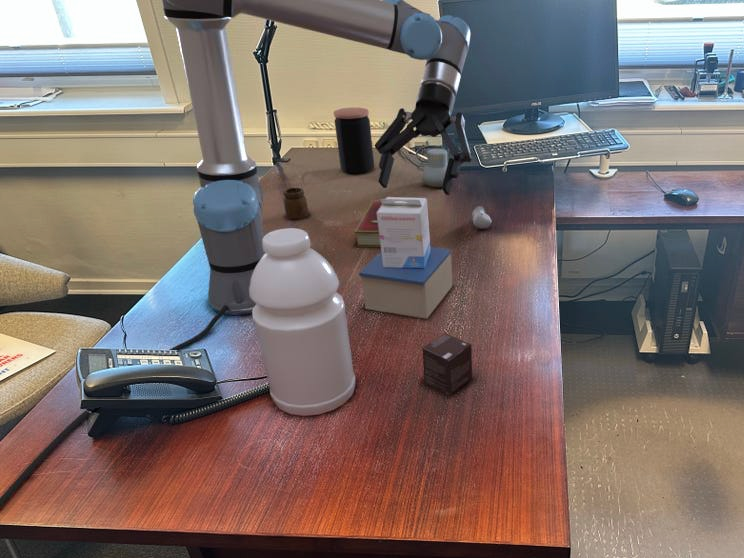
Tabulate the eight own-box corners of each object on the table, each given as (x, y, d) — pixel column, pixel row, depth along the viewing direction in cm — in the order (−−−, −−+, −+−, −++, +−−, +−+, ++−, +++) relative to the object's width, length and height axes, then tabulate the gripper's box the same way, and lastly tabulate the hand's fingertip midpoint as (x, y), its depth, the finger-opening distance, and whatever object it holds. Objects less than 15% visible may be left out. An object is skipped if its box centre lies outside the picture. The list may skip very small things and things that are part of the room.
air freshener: (426, 178, 199) (424, 145, 193) (453, 178, 199) (452, 145, 193) (422, 190, 190) (420, 156, 184) (450, 190, 190) (449, 156, 184)
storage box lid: (423, 285, 123) (423, 282, 123) (359, 276, 127) (358, 272, 126) (451, 252, 135) (451, 249, 135) (391, 245, 139) (391, 241, 138)
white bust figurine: (489, 235, 165) (470, 230, 164) (488, 222, 172) (469, 217, 171) (495, 220, 163) (475, 214, 162) (493, 207, 169) (474, 202, 168)
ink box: (431, 251, 134) (428, 188, 126) (424, 269, 127) (420, 204, 119) (391, 250, 135) (385, 187, 127) (381, 267, 128) (375, 202, 120)
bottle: (303, 361, 116) (274, 212, 100) (371, 377, 112) (352, 224, 96) (254, 406, 105) (213, 248, 89) (326, 426, 101) (297, 263, 85)
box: (447, 367, 114) (445, 331, 110) (473, 379, 111) (472, 343, 107) (423, 383, 110) (420, 347, 106) (449, 396, 107) (448, 359, 103)
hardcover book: (417, 215, 174) (416, 200, 171) (405, 247, 156) (403, 231, 154) (374, 214, 175) (372, 199, 172) (356, 246, 157) (354, 230, 155)
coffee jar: (381, 168, 208) (375, 109, 198) (359, 177, 200) (352, 117, 190) (356, 163, 213) (349, 105, 202) (333, 171, 205) (325, 112, 195)
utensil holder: (310, 218, 173) (303, 173, 166) (286, 221, 171) (278, 176, 164) (307, 210, 177) (300, 167, 171) (283, 213, 176) (275, 170, 169)
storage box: (427, 318, 128) (424, 283, 124) (365, 308, 132) (361, 274, 127) (452, 286, 140) (451, 253, 135) (394, 277, 143) (391, 245, 139)
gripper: (500, 107, 132) (477, 203, 128) (388, 99, 138) (364, 190, 135) (492, 84, 124) (468, 185, 121) (375, 77, 131) (349, 173, 128)
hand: (413, 188), depth 128 cm, fingers open, 13 cm apart
